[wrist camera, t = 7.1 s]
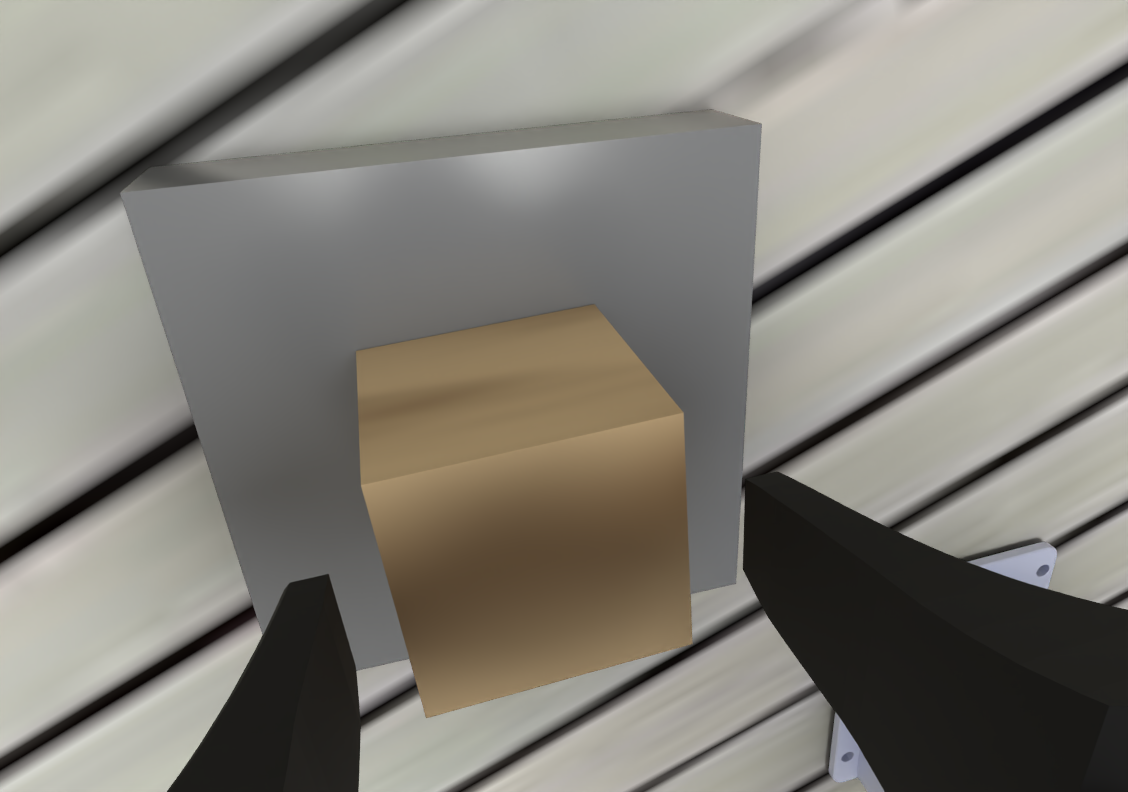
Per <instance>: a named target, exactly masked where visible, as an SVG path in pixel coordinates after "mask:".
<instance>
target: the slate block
mask: <svg viewBox="0 0 1128 792" xmlns="http://www.w3.org/2000/svg"><path fill="white" fill-rule="evenodd" d="M761 128H762V124H761V123H757V122H754V121H751V120H747V119H744V118H740V117H737V116H733V115H730V114H726V113H723V112H720V111H716V110H713V109H709V110H699V111H690V112H680V113H670V114H661V115H651V116H641V117H632V118H622V119H612V120H602V121H593V122H583V123H573V124H564V125H554V126H544V127H535V128H525V129H515V130H506V131H496V132H486V133H477V134H467V135H457V136H448V137H438V138H428V139H419V140H409V141H399V142H390V143H380V144H370V145H360V146H351V147H341V148H331V149H322V150H312V151H302V152H293V153H283V154H273V155H264V156H254V157H244V158H235V159H225V160H215V161H206V162H196V163H186V164H177V165H167V166H157V167H149V168H148V169H147V170H146V171H145V172H144V173H143V174H141V175H140V176H139V177H138V178H137V179H136V180H134V181H133V182H132V183H131V184H130V185H129V186H127V187H126V188H125V189H124V190H123V191H122V192H121V193H120V194H121V197H122V200H123V203H124V206H125V209H126V213H127V216H128V219H129V222H130V225H131V228H132V231H133V234H134V237H135V240H136V244H137V247H138V250H139V253H140V256H141V259H142V262H143V265H144V268H145V271H146V275H147V278H148V281H149V284H150V287H151V290H152V293H153V296H154V299H155V302H156V306H157V309H158V312H159V315H160V318H161V321H162V324H163V327H164V330H165V333H166V337H167V340H168V343H169V346H170V349H171V352H172V355H173V358H174V361H175V364H176V368H177V371H178V374H179V377H180V380H181V383H182V386H183V389H184V392H185V395H186V399H187V402H188V405H189V408H190V411H191V414H192V417H193V420H194V423H195V426H196V430H197V433H198V436H199V439H200V442H201V445H202V448H203V451H204V454H205V457H206V461H207V464H208V467H209V470H210V473H211V476H212V479H213V482H214V485H215V488H216V492H217V495H218V498H219V501H220V504H221V507H222V510H223V513H224V516H225V519H226V523H227V526H228V529H229V532H230V535H231V538H232V541H233V544H234V547H235V550H236V554H237V557H238V560H239V563H240V566H241V569H242V572H243V575H244V578H245V581H246V585H247V588H248V591H249V594H250V597H251V600H252V603H253V606H254V609H255V612H256V616H257V619H258V622H259V625H260V628H261V631H262V634H264V632H265V630H266V628H267V626H268V624H269V621H270V619H271V617H272V615H273V613H274V611H275V609H276V606H277V604H278V602H279V600H280V598H281V595H282V593H283V591H284V589H285V588H286V587H287V585H288V584H289V583H290V582H295V581H299V580H303V579H308V578H312V577H317V576H321V575H325V574H329V577H330V580H331V584H332V587H333V590H334V594H335V597H336V601H337V604H338V607H339V611H340V614H341V618H342V621H343V624H344V628H345V631H346V635H347V638H348V641H349V645H350V648H351V652H352V655H353V658H354V662H355V665H356V671H358V670H362V669H366V668H371V667H375V666H380V665H384V664H388V663H393V662H397V661H401V660H406V659H409V655H408V651H407V648H406V644H405V641H404V637H403V634H402V630H401V626H400V623H399V619H398V616H397V612H396V609H395V605H394V602H393V598H392V594H391V591H390V587H389V584H388V580H387V577H386V573H385V570H384V566H383V562H382V559H381V555H380V552H379V548H378V545H377V541H376V537H375V534H374V530H373V527H372V523H371V520H370V516H369V513H368V509H367V505H366V502H365V498H364V495H363V491H362V488H361V475H360V447H359V420H358V392H357V365H356V351H359V350H364V349H369V348H374V347H379V346H384V345H389V344H395V343H400V342H405V341H410V340H415V339H420V338H425V337H430V336H435V335H440V334H445V333H450V332H456V331H461V330H466V329H471V328H476V327H481V326H486V325H491V324H496V323H501V322H506V321H512V320H517V319H522V318H527V317H532V316H537V315H542V314H547V313H552V312H557V311H562V310H567V309H573V308H578V307H583V306H588V305H593V304H595V306H596V307H597V308H598V309H599V311H600V312H601V313H602V314H603V315H604V317H605V318H606V319H607V320H608V321H609V323H610V324H611V325H612V326H613V328H614V329H615V330H616V331H617V332H618V334H619V335H620V336H621V337H622V338H623V340H624V341H625V342H626V343H627V345H628V346H629V347H630V348H631V349H632V351H633V352H634V353H635V354H636V355H637V357H638V358H639V359H640V360H641V362H642V363H643V364H644V365H645V366H646V368H647V369H648V370H649V371H650V373H651V374H652V375H653V376H654V377H655V379H656V380H657V381H658V382H659V383H660V385H661V386H662V387H663V388H664V390H665V391H666V392H667V393H668V394H669V396H670V397H671V398H672V399H673V400H674V402H675V403H676V404H677V405H678V407H679V408H680V409H681V410H682V411H683V413H684V438H685V464H686V490H687V517H688V543H689V569H690V594H693V593H697V592H702V591H706V590H710V589H715V588H719V587H724V586H728V585H732V584H736V575H737V558H738V540H739V522H740V504H741V486H742V468H743V450H744V432H745V415H746V397H747V379H748V361H749V343H750V325H751V307H752V289H753V271H754V254H755V236H756V218H757V200H758V182H759V164H760V146H761Z"/></svg>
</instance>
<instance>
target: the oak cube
mask: <svg viewBox="0 0 1128 792" xmlns="http://www.w3.org/2000/svg"><path fill="white" fill-rule="evenodd" d="M356 365H357V392H358V420H359V447H360V475H361V488H362V491H363V495H364V498H365V502H366V505H367V509H368V513H369V516H370V520H371V523H372V527H373V530H374V534H375V537H376V541H377V545H378V548H379V552H380V555H381V559H382V562H383V566H384V570H385V573H386V577H387V580H388V584H389V587H390V591H391V594H392V598H393V602H394V605H395V609H396V612H397V616H398V619H399V623H400V626H401V630H402V634H403V637H404V641H405V644H406V648H407V651H408V655H409V659H410V662H411V666H412V669H413V673H414V676H415V680H416V683H417V687H418V691H419V694H420V698H421V701H422V705H423V708H424V712H425V716H426V718H429V717H432V716H436V715H439V714H443V713H447V712H450V711H454V710H457V709H461V708H464V707H468V706H472V705H475V704H479V703H482V702H486V701H490V700H493V699H497V698H500V697H504V696H508V695H511V694H515V693H518V692H522V691H525V690H529V689H533V688H536V687H540V686H543V685H547V684H551V683H554V682H558V681H561V680H565V679H568V678H572V677H576V676H579V675H583V674H586V673H590V672H594V671H597V670H601V669H604V668H608V667H611V666H615V665H619V664H622V663H626V662H629V661H633V660H637V659H640V658H644V657H647V656H651V655H654V654H658V653H662V652H665V651H669V650H672V649H676V648H680V647H683V646H687V645H690V644H692V622H691V595H690V569H689V543H688V517H687V490H686V464H685V438H684V413H683V411H682V410H681V409H680V408H679V407H678V405H677V404H676V403H675V402H674V400H673V399H672V398H671V397H670V396H669V394H668V393H667V392H666V391H665V390H664V388H663V387H662V386H661V385H660V383H659V382H658V381H657V380H656V379H655V377H654V376H653V375H652V374H651V373H650V371H649V370H648V369H647V368H646V366H645V365H644V364H643V363H642V362H641V360H640V359H639V358H638V357H637V355H636V354H635V353H634V352H633V351H632V349H631V348H630V347H629V346H628V345H627V343H626V342H625V341H624V340H623V338H622V337H621V336H620V335H619V334H618V332H617V331H616V330H615V329H614V328H613V326H612V325H611V324H610V323H609V321H608V320H607V319H606V318H605V317H604V315H603V314H602V313H601V312H600V311H599V309H598V308H597V307H596V306H595V304H593V305H588V306H583V307H578V308H573V309H567V310H562V311H557V312H552V313H547V314H542V315H537V316H532V317H527V318H522V319H517V320H512V321H506V322H501V323H496V324H491V325H486V326H481V327H476V328H471V329H466V330H461V331H456V332H450V333H445V334H440V335H435V336H430V337H425V338H420V339H415V340H410V341H405V342H400V343H395V344H389V345H384V346H379V347H374V348H369V349H364V350H359V351H356Z"/></svg>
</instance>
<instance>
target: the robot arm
mask: <svg viewBox="0 0 1128 792" xmlns="http://www.w3.org/2000/svg"><path fill="white" fill-rule="evenodd" d="M1056 557H1057V550H1056V549H1055V548H1054V547H1053V546H1052V545H1050V544H1049V543H1047V542H1040V543H1036V544H1032V545H1028V546H1024V547H1021V548H1017V549H1013V550H1009V551H1006V552H1002V553H998V554H994V555H991V556H987V557H983V558H979V559H976V560H972V561H968V562H966V561H963V560H961V559H958V558H956V557H953V556H951V555H948V554H946V553H943V552H941V551H939V550H936V549H934V548H932V547H930V546H927V545H925V544H923V543H921V542H918V541H916V540H914V539H912V538H909V537H907V536H905V535H903V534H901V533H899V532H896V531H894V530H892V529H890V528H888V527H886V526H884V525H882V524H880V523H878V522H876V521H874V520H872V519H870V518H868V517H866V516H864V515H862V514H860V513H858V512H856V511H854V510H852V509H850V508H848V507H846V506H844V505H842V504H840V503H839V502H837V501H835V500H833V499H831V498H829V497H827V496H825V495H823V494H821V493H819V492H818V491H816V490H814V489H812V488H810V487H808V486H806V485H804V484H802V483H800V482H798V481H796V480H794V479H792V478H790V477H788V476H786V475H784V474H782V473H779V472H773V473H769V474H764V475H760V476H756V477H751V478H747V479H745V514H744V549H743V571H744V572H745V574H746V576H747V578H748V580H749V582H750V584H751V586H752V588H753V590H754V592H755V594H756V596H757V598H758V600H759V601H760V603H761V605H762V607H763V609H764V611H765V612H766V614H767V616H768V618H769V619H770V621H771V622H772V624H773V625H774V627H775V628H776V630H777V631H778V632H779V634H780V635H781V637H782V638H783V639H784V641H785V642H786V644H787V645H788V647H789V648H790V649H791V651H792V652H793V654H794V655H795V656H796V658H797V659H798V661H799V662H800V663H801V665H802V666H803V667H804V669H805V670H806V672H807V673H808V674H809V676H810V677H811V679H812V680H813V681H814V683H815V684H816V686H817V687H818V688H819V690H820V691H821V693H822V694H823V695H824V697H825V698H826V699H827V701H828V702H829V704H830V705H831V706H832V708H833V709H834V711H835V719H834V727H833V736H832V745H831V754H830V762H829V774H830V775H831V777H832V778H833V780H834V781H835V782H845V781H848V780H851V779H855V778H859V780H860V781H861V783H862V784H863V786H864V787H865V789H866V790H867V792H1128V610H1126V609H1121V608H1117V607H1112V606H1108V605H1104V604H1100V603H1096V602H1092V601H1088V600H1084V599H1080V598H1077V597H1073V596H1070V595H1066V594H1063V593H1059V592H1056V591H1052V590H1049V589H1048V587H1049V583H1050V579H1051V576H1052V572H1053V568H1054V565H1055V561H1056ZM360 729H361V724H360V711H359V697H358V686H357V674H356V665H355V662H354V658H353V655H352V652H351V648H350V645H349V641H348V638H347V635H346V631H345V628H344V624H343V621H342V618H341V614H340V611H339V607H338V604H337V601H336V597H335V594H334V590H333V587H332V584H331V580H330V577H329V574H325V575H321V576H317V577H312V578H308V579H303V580H299V581H295V582H290V583H289V584H288V585H287V587H286V588H285V589H284V591H283V593H282V595H281V598H280V600H279V602H278V604H277V606H276V609H275V611H274V613H273V615H272V617H271V619H270V621H269V624H268V626H267V628H266V630H265V632H264V634H263V636H262V638H261V640H260V642H259V644H258V646H257V648H256V650H255V652H254V653H253V655H252V657H251V659H250V661H249V663H248V664H247V666H246V668H245V670H244V672H243V674H242V675H241V677H240V679H239V681H238V683H237V685H236V686H235V688H234V690H233V692H232V693H231V695H230V697H229V699H228V700H227V702H226V703H225V705H224V707H223V708H222V710H221V712H220V713H219V715H218V716H217V718H216V720H215V721H214V723H213V725H212V726H211V728H210V729H209V731H208V733H207V734H206V736H205V737H204V739H203V741H202V742H201V744H200V745H199V747H198V748H197V750H196V751H195V753H194V754H193V756H192V757H191V759H190V760H189V761H188V763H187V764H186V766H185V767H184V769H183V770H182V772H181V773H180V774H179V776H178V777H177V778H176V780H175V781H174V783H173V784H172V785H171V787H170V788H169V789H168V791H167V792H358V787H359V760H360Z"/></svg>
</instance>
